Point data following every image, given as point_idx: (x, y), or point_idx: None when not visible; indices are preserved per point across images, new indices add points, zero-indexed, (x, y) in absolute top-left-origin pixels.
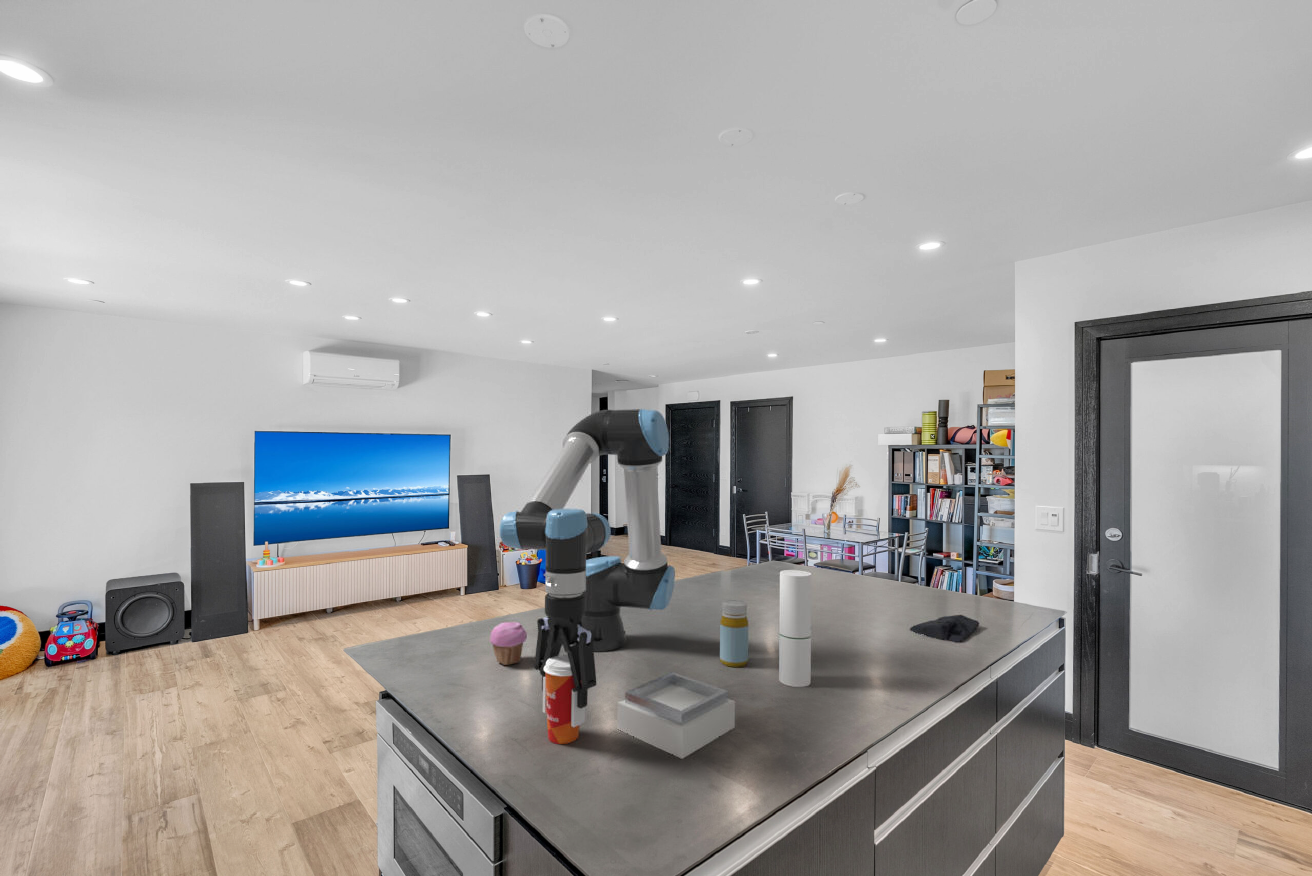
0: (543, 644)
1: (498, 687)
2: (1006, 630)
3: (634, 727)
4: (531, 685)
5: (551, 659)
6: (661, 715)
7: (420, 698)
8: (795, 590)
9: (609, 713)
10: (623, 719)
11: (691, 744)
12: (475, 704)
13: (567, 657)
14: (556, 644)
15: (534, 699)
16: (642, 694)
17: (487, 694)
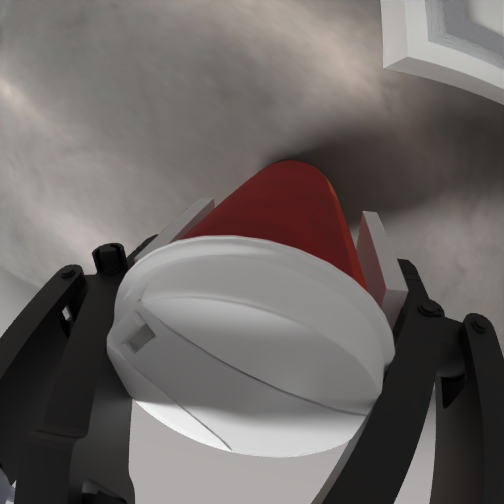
0: (38, 401)
1: (14, 155)
2: None
3: (463, 84)
4: (28, 95)
5: (158, 409)
6: None
7: (19, 265)
8: None
9: (279, 6)
10: (422, 70)
11: None
12: (48, 227)
13: (180, 362)
14: (112, 471)
15: (73, 122)
16: None
17: (26, 187)
